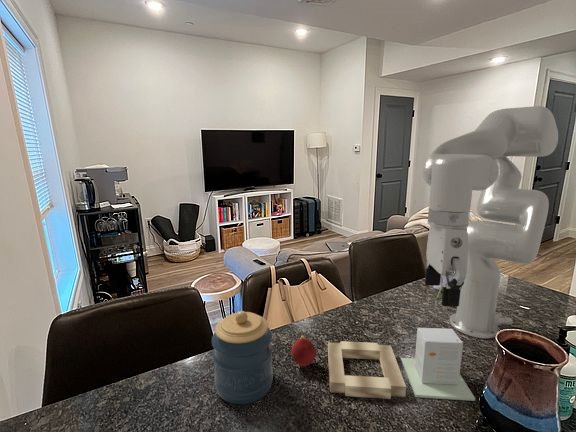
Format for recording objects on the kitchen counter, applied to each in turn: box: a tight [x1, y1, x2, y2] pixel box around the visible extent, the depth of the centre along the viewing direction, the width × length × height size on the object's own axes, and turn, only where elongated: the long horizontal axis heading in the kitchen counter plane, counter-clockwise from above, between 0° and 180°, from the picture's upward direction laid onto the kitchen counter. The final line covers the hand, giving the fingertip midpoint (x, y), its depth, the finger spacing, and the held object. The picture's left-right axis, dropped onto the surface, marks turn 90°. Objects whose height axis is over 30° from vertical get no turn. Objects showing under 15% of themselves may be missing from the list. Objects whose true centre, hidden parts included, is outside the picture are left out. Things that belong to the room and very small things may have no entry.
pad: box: [400, 357, 476, 402], centre depth 72 cm, size 12×12×1 cm
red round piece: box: [290, 335, 317, 367], centre depth 76 cm, size 6×6×8 cm
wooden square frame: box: [327, 340, 407, 400], centre depth 74 cm, size 16×16×2 cm
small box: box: [414, 327, 464, 385], centre depth 71 cm, size 8×6×10 cm
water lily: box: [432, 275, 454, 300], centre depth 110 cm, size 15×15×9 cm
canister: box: [211, 310, 274, 405], centre depth 69 cm, size 13×13×18 cm
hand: (440, 294), depth 68 cm, fingers open, 9 cm apart
